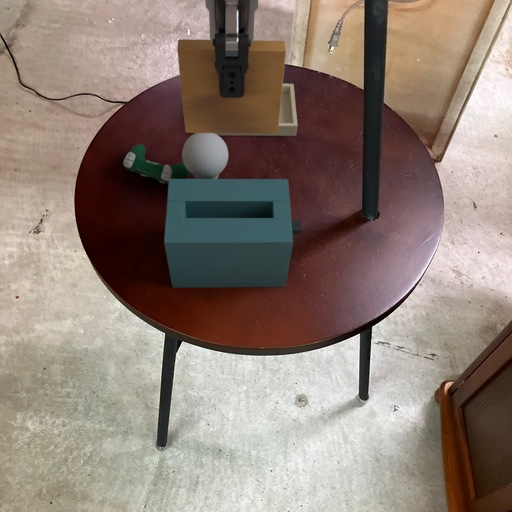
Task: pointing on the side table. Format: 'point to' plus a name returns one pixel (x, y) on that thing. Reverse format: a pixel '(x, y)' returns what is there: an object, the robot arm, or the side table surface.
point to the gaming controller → (153, 166)
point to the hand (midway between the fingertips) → (231, 88)
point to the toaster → (229, 232)
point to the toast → (231, 109)
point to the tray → (281, 116)
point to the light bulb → (205, 155)
